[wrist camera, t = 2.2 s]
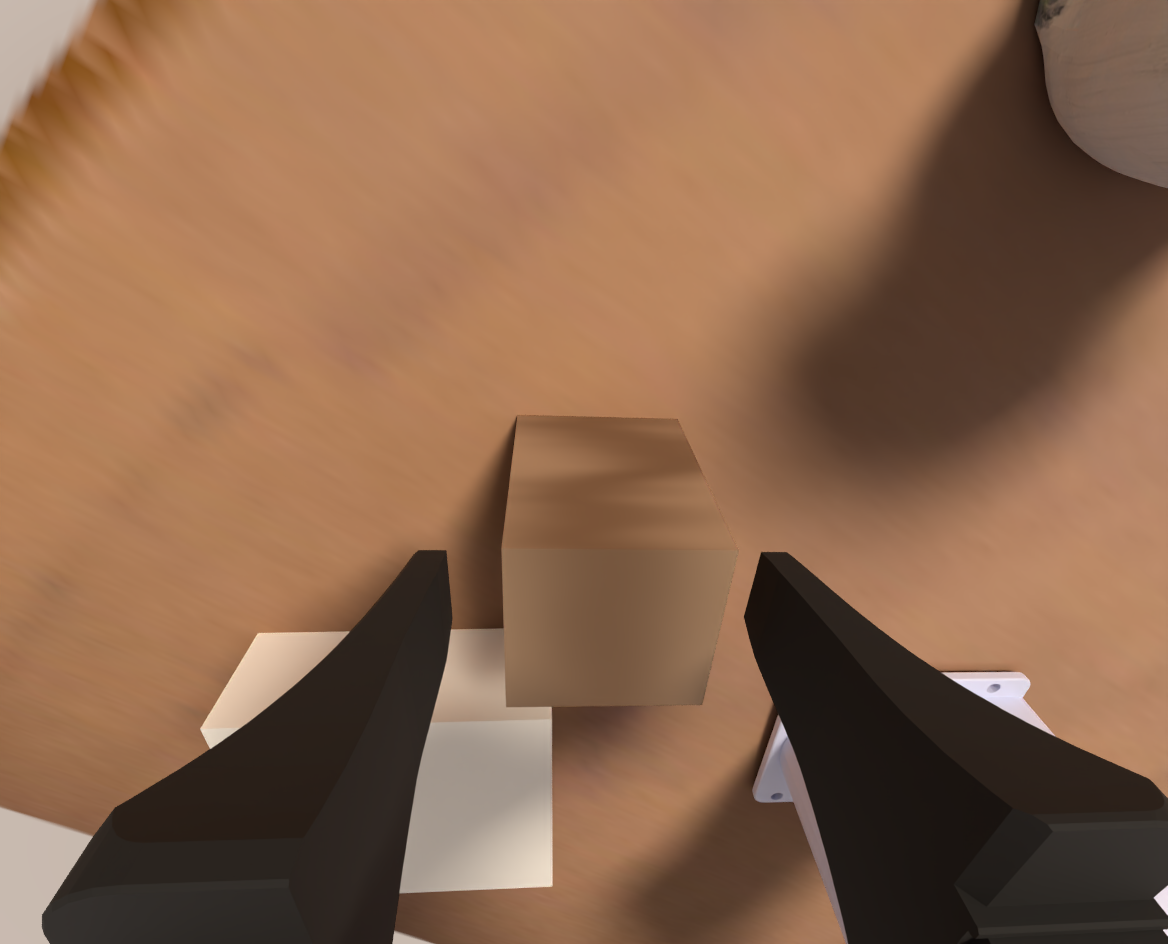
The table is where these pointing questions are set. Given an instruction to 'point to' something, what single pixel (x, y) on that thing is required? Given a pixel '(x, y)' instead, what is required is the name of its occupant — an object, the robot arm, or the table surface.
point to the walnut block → (610, 565)
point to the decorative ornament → (1110, 80)
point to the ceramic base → (440, 761)
